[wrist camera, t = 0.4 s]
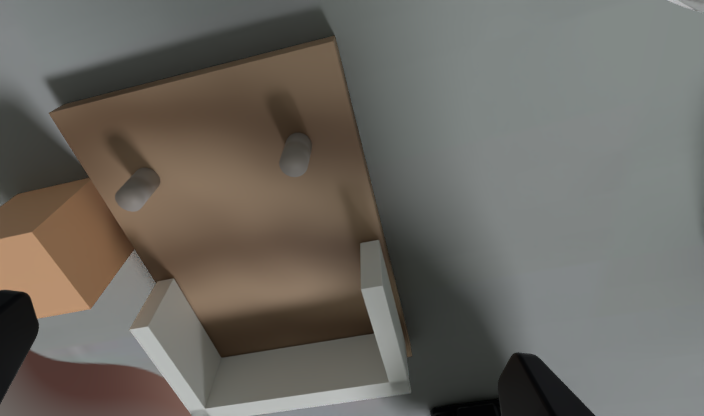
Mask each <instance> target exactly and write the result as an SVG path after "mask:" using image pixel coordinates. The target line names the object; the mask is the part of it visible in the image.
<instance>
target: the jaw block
mask: <svg viewBox="0 0 704 416" xmlns="http://www.w3.org/2000/svg"><path fill="white" fill-rule="evenodd" d="M133 250H134V247H133V246H132V244H131V242H130V241H129V239H128V238H127V236H126V235H125V233H124V231H123V230H122V228H121V227H120V225H119V224H118V222H117V220H116V219H115V217H114V216H113V214H112V212H111V211H110V209H109V208H108V206H107V205H106V203H105V201H104V200H103V198H102V197H101V195H100V193H99V192H98V190H97V189H96V187H95V186H94V184H93V182H92V181H91V179H90V178H86V179H82V180H77V181H73V182H69V183H64V184H60V185H55V186H51V187H47V188H42V189H38V190H33V191H29V192H25V193H20V194H17V195H16V196H14V197H13V198H12V199H10V200H9V201H8V202H6V203H5V204H4V205H2V206H1V207H0V290H13V291H21V292H26V293H27V294H28V295H29V296H30V297H31V300H32V303H33V307H34V310H35V313H36V316H37V319H38V318H43V317H49V316H54V315H60V314H65V313H71V312H77V311H82V310H88V309H91V308H92V306H93V305H94V304H95V302H96V301H97V300H98V298H99V297H100V295H101V294H102V293H103V291H104V290H105V289H106V287H107V286H108V284H109V283H110V282H111V280H112V279H113V278H114V276H115V275H116V273H117V272H118V271H119V269H120V268H121V267H122V265H123V264H124V262H125V261H126V260H127V258H128V257H129V256H130V254H131V253H132V251H133Z"/></svg>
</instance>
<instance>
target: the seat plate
mask: <svg viewBox="0 0 704 416" xmlns="http://www.w3.org/2000/svg"><path fill="white" fill-rule="evenodd" d="M49 114H50V116H51V118H52V119H53V121H54V122H55V124H56V125H57V127H58V129H59V130H60V132H61V133H62V135H63V137H64V138H65V140H66V141H67V143H68V144H69V146H70V148H71V149H72V151H73V152H74V154H75V156H76V157H77V159H78V160H79V162H80V163H81V165H82V167H83V168H84V170H85V171H86V173H87V174H88V176H89V178H90V179H91V181H92V182H93V184H94V186H95V187H96V189H97V190H98V192H99V193H100V195H101V197H102V198H103V200H104V201H105V203H106V205H107V206H108V208H109V209H110V211H111V212H112V214H113V216H114V217H115V219H116V220H117V222H118V224H119V225H120V227H121V228H122V230H123V231H124V233H125V235H126V236H127V238H128V239H129V241H130V242H131V244H132V246H133V247H134V249H135V250H136V252H137V254H138V255H139V257H140V258H141V260H142V261H143V263H144V265H145V266H146V268H147V269H148V271H149V273H150V274H151V276H152V277H153V279H154V280H155V282H156V283H157V281H162V280H168V279H173V278H174V279H175V281H176V283H177V284H178V286H179V288H180V289H181V291H182V293H183V294H184V296H185V298H186V300H187V301H188V303H189V305H190V306H191V308H192V310H193V311H194V313H195V315H196V316H197V318H198V320H199V321H200V323H201V325H202V326H203V328H204V330H205V331H206V333H207V335H208V336H209V338H210V340H211V341H212V343H213V345H214V346H215V348H216V350H217V351H218V353H219V355H220V356H221V358H224V357H230V356H236V355H242V354H249V353H255V352H261V351H267V350H274V349H280V348H286V347H292V346H299V345H305V344H311V343H318V342H324V341H330V340H336V339H343V338H349V337H355V336H361V335H368V334H374V331H373V327H372V324H371V321H370V318H369V314H368V311H367V308H366V305H365V301H364V298H363V295H362V291H361V262H360V243H364V242H369V241H375V240H379V242H380V246H381V250H382V253H383V257H384V261H385V265H386V269H387V273H388V277H389V281H390V285H391V289H392V293H393V297H394V300H395V304H396V308H397V312H398V316H399V320H400V324H401V328H402V332H403V336H404V340H405V345H406V353H407V357H412V351H411V344H410V339H409V335H408V331H407V327H406V323H405V318H404V314H403V310H402V306H401V302H400V298H399V294H398V290H397V286H396V282H395V278H394V274H393V270H392V266H391V261H390V257H389V253H388V249H387V245H386V241H385V237H384V233H383V229H382V225H381V221H380V217H379V213H378V209H377V205H376V200H375V196H374V192H373V188H372V184H371V180H370V176H369V172H368V168H367V164H366V160H365V156H364V152H363V148H362V143H361V139H360V135H359V131H358V127H357V123H356V119H355V115H354V111H353V107H352V103H351V99H350V95H349V91H348V87H347V82H346V78H345V74H344V70H343V66H342V62H341V58H340V54H339V50H338V46H337V42H336V38H335V36H331V37H327V38H323V39H319V40H315V41H311V42H307V43H303V44H299V45H295V46H291V47H287V48H284V49H280V50H276V51H272V52H268V53H264V54H260V55H256V56H252V57H248V58H244V59H240V60H236V61H232V62H228V63H225V64H221V65H217V66H213V67H209V68H205V69H201V70H197V71H193V72H189V73H185V74H181V75H177V76H173V77H170V78H166V79H162V80H158V81H154V82H150V83H146V84H142V85H138V86H134V87H130V88H126V89H122V90H118V91H114V92H111V93H107V94H103V95H99V96H95V97H91V98H87V99H83V100H79V101H75V102H71V103H67V104H64V105H62V106H60V107H59V108H57V109H55V110H53V111H51V112H50V113H49Z"/></svg>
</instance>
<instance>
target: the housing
mask: <svg viewBox="0 0 704 416" xmlns="http://www.w3.org/2000/svg"><path fill="white" fill-rule="evenodd" d="M360 262H361V291H362V295H363V298H364V301H365V305H366V308H367V311H368V314H369V318H370V321H371V324H372V327H373V331H374V334H368V335H361V336H355V337H349V338H343V339H336V340H330V341H324V342H318V343H311V344H305V345H299V346H292V347H286V348H280V349H274V350H267V351H261V352H255V353H249V354H242V355H236V356H230V357H224V358H221V356H220V355H219V353H218V351H217V350H216V348H215V346H214V345H213V343H212V341H211V340H210V338H209V336H208V335H207V333H206V331H205V330H204V328H203V326H202V325H201V323H200V321H199V320H198V318H197V316H196V315H195V313H194V311H193V310H192V308H191V306H190V305H189V303H188V301H187V300H186V298H185V296H184V294H183V293H182V291H181V289H180V288H179V286H178V284H177V283H176V281H175V279H174V278H173V279H168V280H162V281H157V283H156V285H155V286H154V288H153V290H152V291H151V293H150V295H149V297H148V298H147V300H146V302H145V303H144V305H143V307H142V309H141V310H140V312H139V314H138V316H137V317H136V319H135V321H134V322H133V324H132V326H131V328H130V329H129V330H130V331H131V333H132V334H133V335H134V337H135V338H136V340H137V341H138V342H139V344H140V345H141V346H142V348H143V349H144V350H145V352H146V353H147V355H148V356H149V357H150V359H151V360H152V361H153V363H154V364H155V366H156V367H157V368H158V370H159V371H160V372H161V374H162V375H163V376H164V378H165V379H166V381H167V382H168V383H169V385H170V386H171V387H172V389H173V390H174V391H175V393H176V394H177V396H178V397H179V398H180V400H181V401H182V402H183V404H184V405H185V406H186V408H187V409H188V411H189V412H190V413H191V415H192V416H252V415H259V414H266V413H274V412H281V411H288V410H295V409H302V408H309V407H317V406H324V405H331V404H338V403H345V402H352V401H360V400H367V399H374V398H381V397H388V396H395V395H403V394H410V393H411V386H410V378H409V369H408V361H407V353H406V345H405V340H404V336H403V332H402V328H401V324H400V320H399V316H398V312H397V308H396V304H395V300H394V297H393V293H392V289H391V285H390V281H389V277H388V273H387V269H386V265H385V261H384V257H383V253H382V250H381V246H380V242H379V240H375V241H369V242H364V243H360Z"/></svg>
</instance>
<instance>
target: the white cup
mask: <svg viewBox="0 0 704 416" xmlns="http://www.w3.org/2000/svg"><path fill="white" fill-rule="evenodd" d="M667 1H668V2H670V3H674V4H677V5H680V6H682V7H685V8H688V9H691V10H694V11H697V12H701V13H704V0H667Z"/></svg>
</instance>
